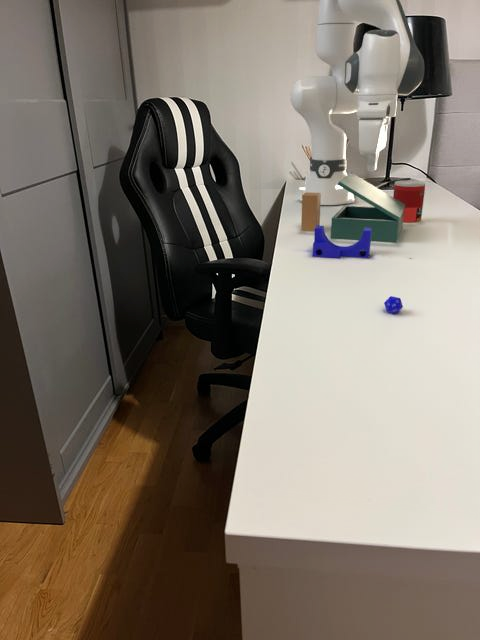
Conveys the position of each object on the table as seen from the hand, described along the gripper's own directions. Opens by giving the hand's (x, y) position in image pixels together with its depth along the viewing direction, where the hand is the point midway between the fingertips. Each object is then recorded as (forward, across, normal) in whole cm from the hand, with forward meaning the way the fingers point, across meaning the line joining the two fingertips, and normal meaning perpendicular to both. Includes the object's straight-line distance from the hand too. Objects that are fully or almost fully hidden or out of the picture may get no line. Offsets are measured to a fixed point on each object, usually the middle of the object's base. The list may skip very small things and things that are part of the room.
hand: (371, 171), depth 121 cm
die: (+16, +50, +11) cm, 54 cm away
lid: (+6, 0, +1) cm, 6 cm away
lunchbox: (+16, 0, 0) cm, 16 cm away
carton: (+16, 0, -15) cm, 22 cm away
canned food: (+16, -18, +8) cm, 26 cm away
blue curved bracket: (+16, +20, -3) cm, 26 cm away
